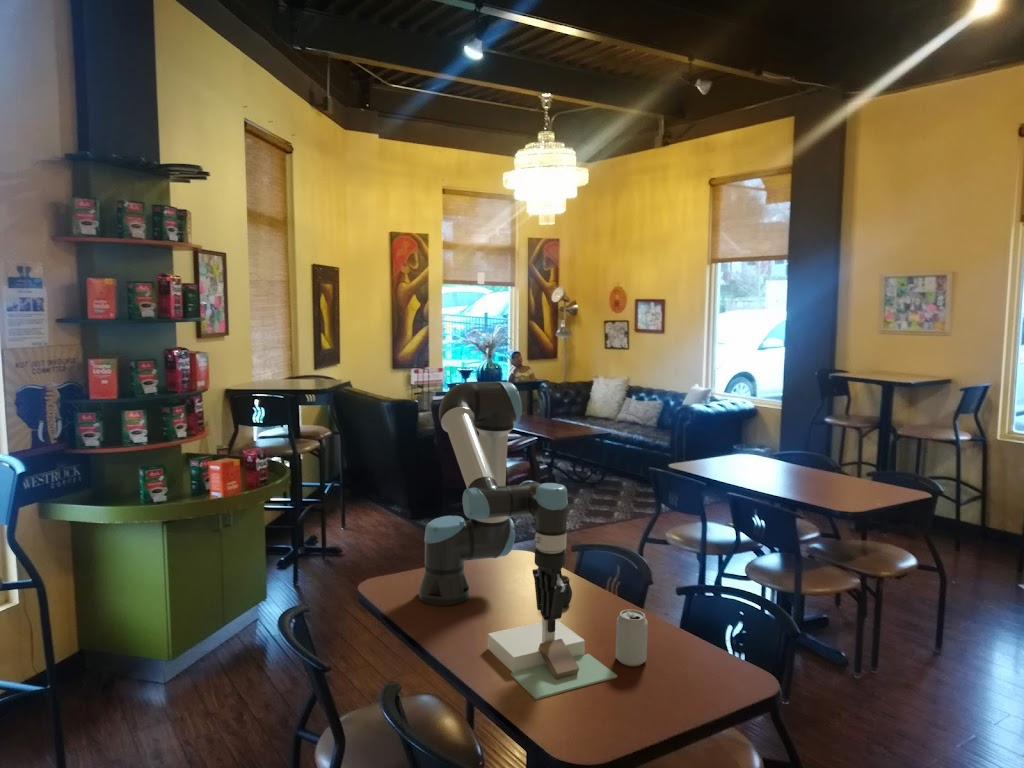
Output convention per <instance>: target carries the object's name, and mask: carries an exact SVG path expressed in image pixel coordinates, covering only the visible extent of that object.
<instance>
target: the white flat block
mask: <svg viewBox="0 0 1024 768" xmlns="http://www.w3.org/2000/svg"><path fill="white" fill-rule="evenodd" d="M557 639H562V640H563V642H564V643H565V645H566V647H567V648H568V650H569V652H570V653H571V655H572V657H577V656H581V655H585V652H586V648H585V647H586V640H585V639H584V638H582V637H581V636H579V634H577V633H575V631H573V630H571V628H569V627H567V626H566V625H565V624H563V623H562V622H560V621H559V619H556V620H555V640H557ZM540 643H542V621H539V622H535V623H530V624H527V625H520V626H517V627H511V628H508V629H503V630H497V631H494V632H489V633H488V634H487V649H488V651H490V652H491V654H493V655H494V656H495V657H496V658H497V659H498V660H499V661H500V663H502V664H503V665H504V666H505V667H506V668H507V669H508V670H509V671H511V673H513V672H517V671H521V670H525V669H529V668H533V667H537V666H541V665H545V664H546V662H545V660H544V658H543V657H542V655H541V653H540V651H539V650H538V649H539V646H540Z"/></svg>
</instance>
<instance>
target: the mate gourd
mask: <svg viewBox="0 0 1024 768" xmlns="http://www.w3.org/2000/svg"><path fill="white" fill-rule="evenodd" d="M570 579H571V578H570V577H569V576H566V575H563V574H562V579H561V580H562V582H563V584H567V585H568V589H567V591H566V593H565V599H564V604H563V608H565V607H567V606H568V605H570V603H571V602H572V601H571V600H572V598H573V597H572V596H573V589H572V587H571V584H570V581H571V580H570Z"/></svg>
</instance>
